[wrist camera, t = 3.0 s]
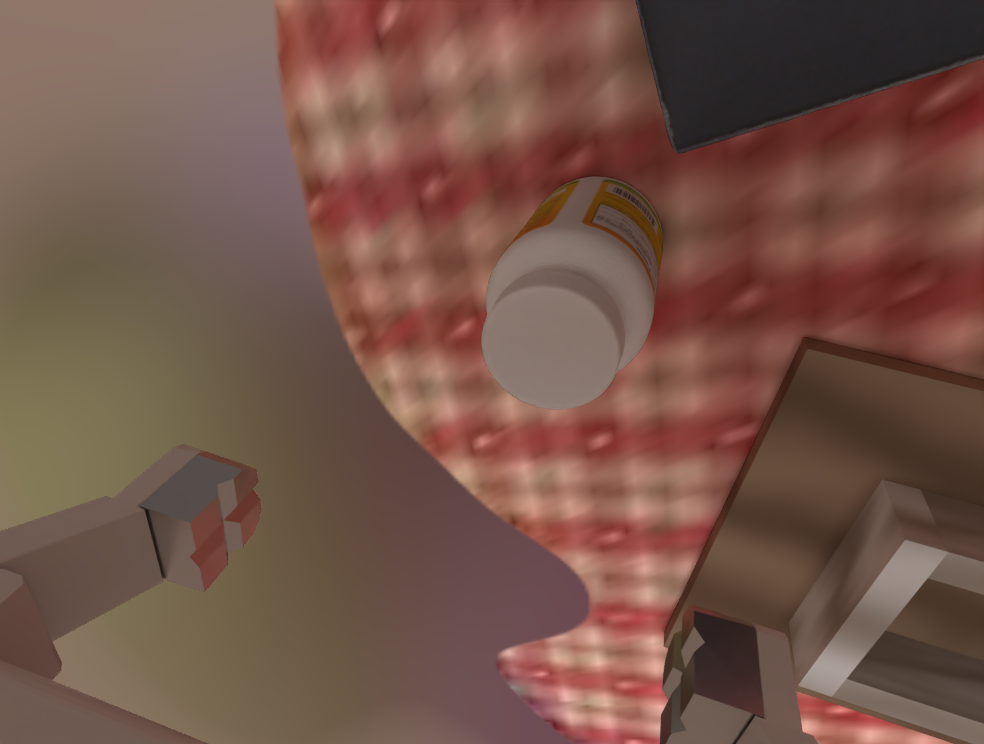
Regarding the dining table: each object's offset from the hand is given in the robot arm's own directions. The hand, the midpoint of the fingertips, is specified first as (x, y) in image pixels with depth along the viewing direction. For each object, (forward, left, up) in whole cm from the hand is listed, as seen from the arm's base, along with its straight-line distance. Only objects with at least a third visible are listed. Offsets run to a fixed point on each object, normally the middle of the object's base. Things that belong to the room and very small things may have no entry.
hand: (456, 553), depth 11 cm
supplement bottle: (0, 0, -17) cm, 17 cm away
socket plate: (+12, +19, -17) cm, 28 cm away
